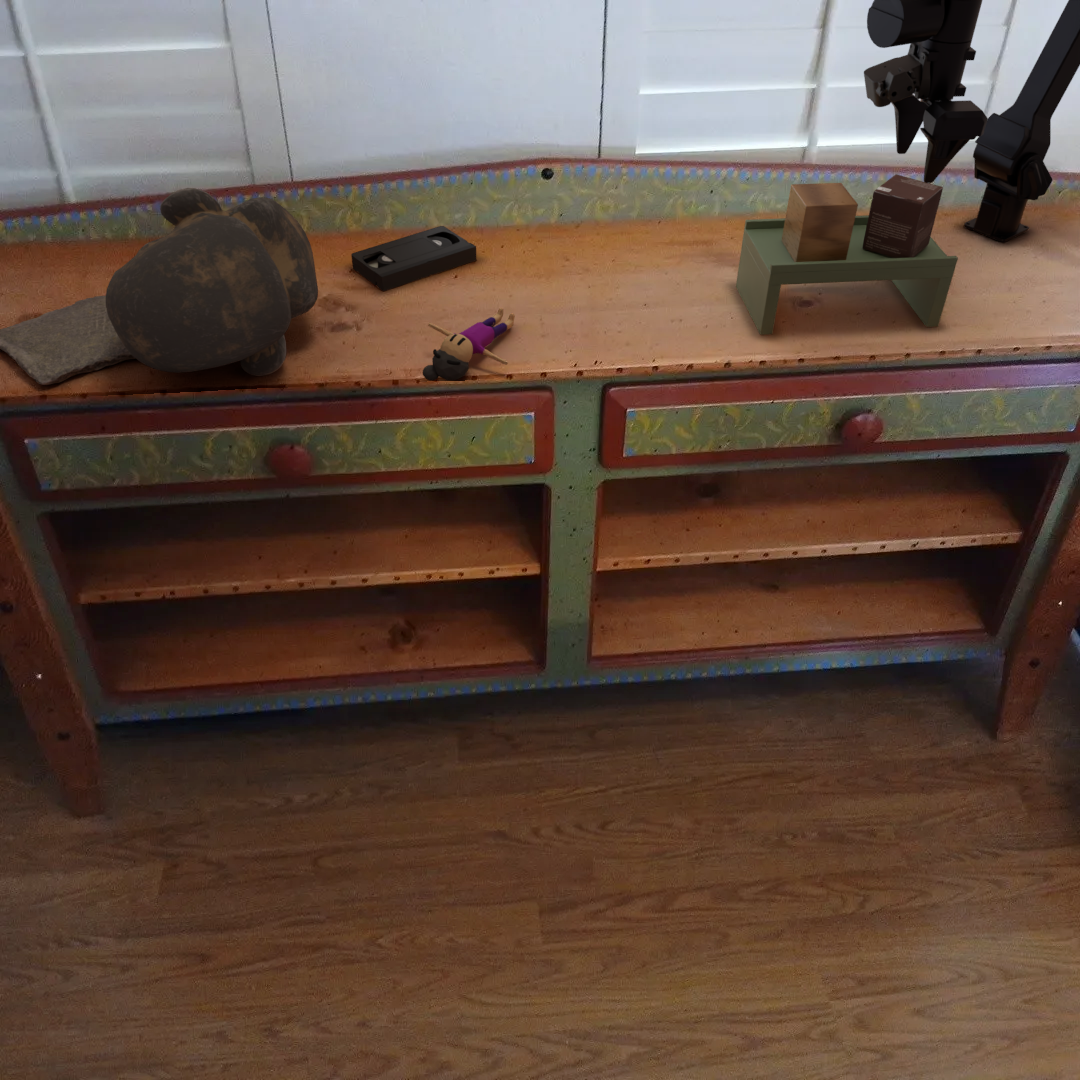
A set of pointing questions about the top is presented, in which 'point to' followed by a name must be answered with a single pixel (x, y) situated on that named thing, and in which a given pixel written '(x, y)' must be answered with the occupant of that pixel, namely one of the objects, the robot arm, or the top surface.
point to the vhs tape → (413, 257)
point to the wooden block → (819, 222)
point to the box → (901, 217)
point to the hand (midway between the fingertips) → (914, 167)
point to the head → (214, 286)
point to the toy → (465, 347)
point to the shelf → (836, 272)
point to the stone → (65, 342)
